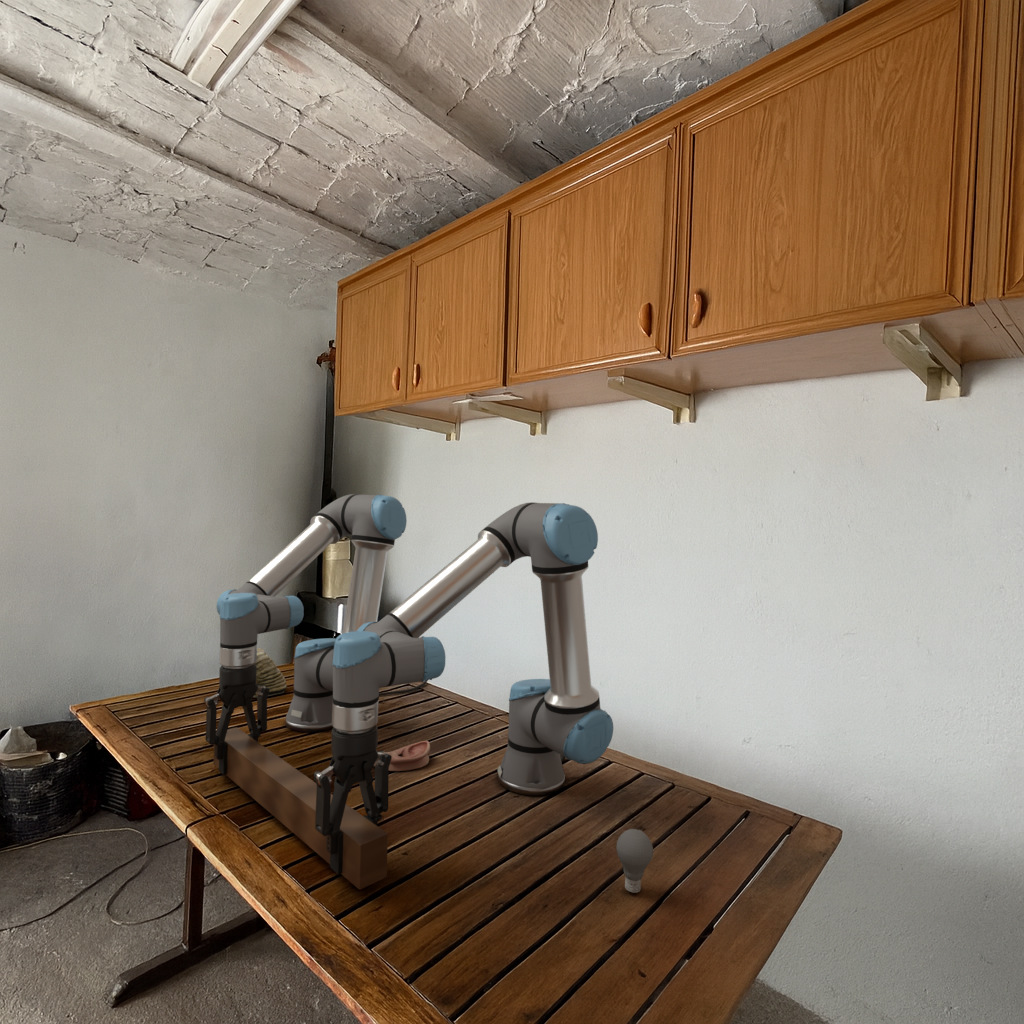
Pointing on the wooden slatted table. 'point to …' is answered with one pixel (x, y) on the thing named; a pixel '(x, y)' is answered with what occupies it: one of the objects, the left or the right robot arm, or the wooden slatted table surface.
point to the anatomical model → (410, 757)
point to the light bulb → (634, 857)
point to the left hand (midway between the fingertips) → (236, 768)
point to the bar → (304, 808)
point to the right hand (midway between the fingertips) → (351, 862)
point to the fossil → (269, 674)
